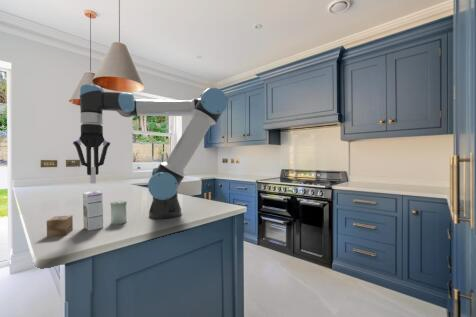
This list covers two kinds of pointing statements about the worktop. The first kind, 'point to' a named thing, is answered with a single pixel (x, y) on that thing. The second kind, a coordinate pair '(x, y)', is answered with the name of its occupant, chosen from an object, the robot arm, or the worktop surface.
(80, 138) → the robot arm
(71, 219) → the cardboard box
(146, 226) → the worktop surface
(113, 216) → the sage jar
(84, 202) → the syrup box
